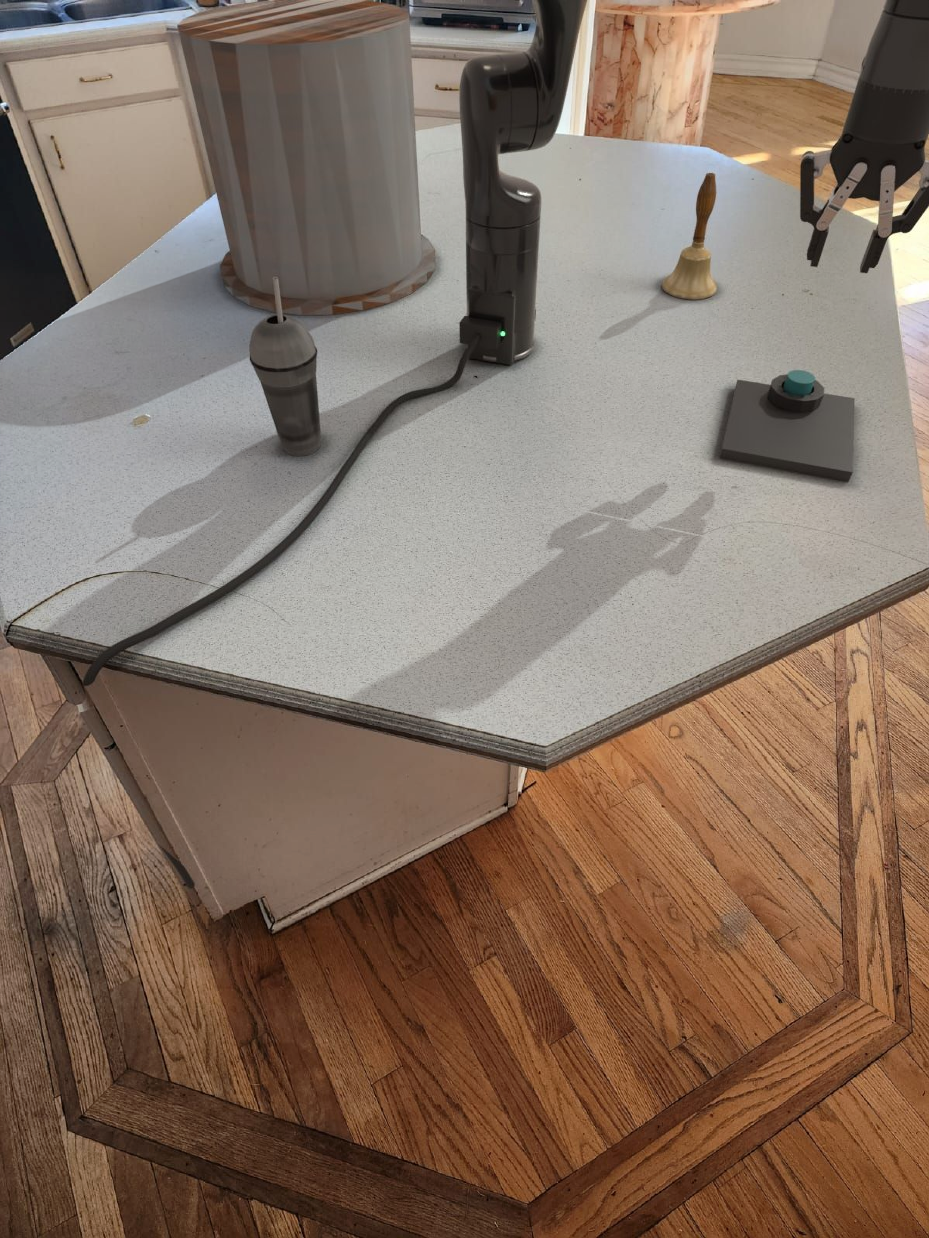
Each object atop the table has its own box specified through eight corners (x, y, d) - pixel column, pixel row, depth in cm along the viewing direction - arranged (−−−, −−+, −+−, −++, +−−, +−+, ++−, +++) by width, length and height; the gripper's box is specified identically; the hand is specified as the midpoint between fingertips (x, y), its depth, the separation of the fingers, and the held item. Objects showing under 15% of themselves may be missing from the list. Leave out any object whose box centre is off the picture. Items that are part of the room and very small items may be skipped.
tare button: (810, 398, 90) (814, 385, 89) (782, 394, 91) (786, 381, 90) (811, 385, 92) (816, 372, 91) (784, 381, 93) (788, 368, 92)
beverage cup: (304, 421, 93) (271, 254, 79) (345, 442, 90) (319, 272, 76) (258, 448, 90) (214, 278, 75) (300, 470, 86) (263, 297, 72)
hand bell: (705, 304, 113) (731, 187, 102) (653, 292, 116) (672, 177, 105) (724, 284, 118) (751, 170, 106) (674, 272, 121) (694, 160, 109)
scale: (848, 482, 84) (858, 460, 81) (718, 458, 87) (725, 436, 85) (850, 406, 94) (859, 384, 92) (735, 387, 97) (741, 365, 95)
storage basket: (478, 255, 127) (478, 10, 103) (334, 337, 108) (293, 62, 84) (327, 211, 141) (296, -12, 117) (176, 277, 122) (104, 27, 99)
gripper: (819, 80, 68) (766, 273, 80) (996, 91, 64) (911, 291, 77) (823, 61, 73) (772, 246, 85) (987, 71, 69) (909, 262, 82)
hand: (839, 266), depth 81 cm, fingers open, 4 cm apart
